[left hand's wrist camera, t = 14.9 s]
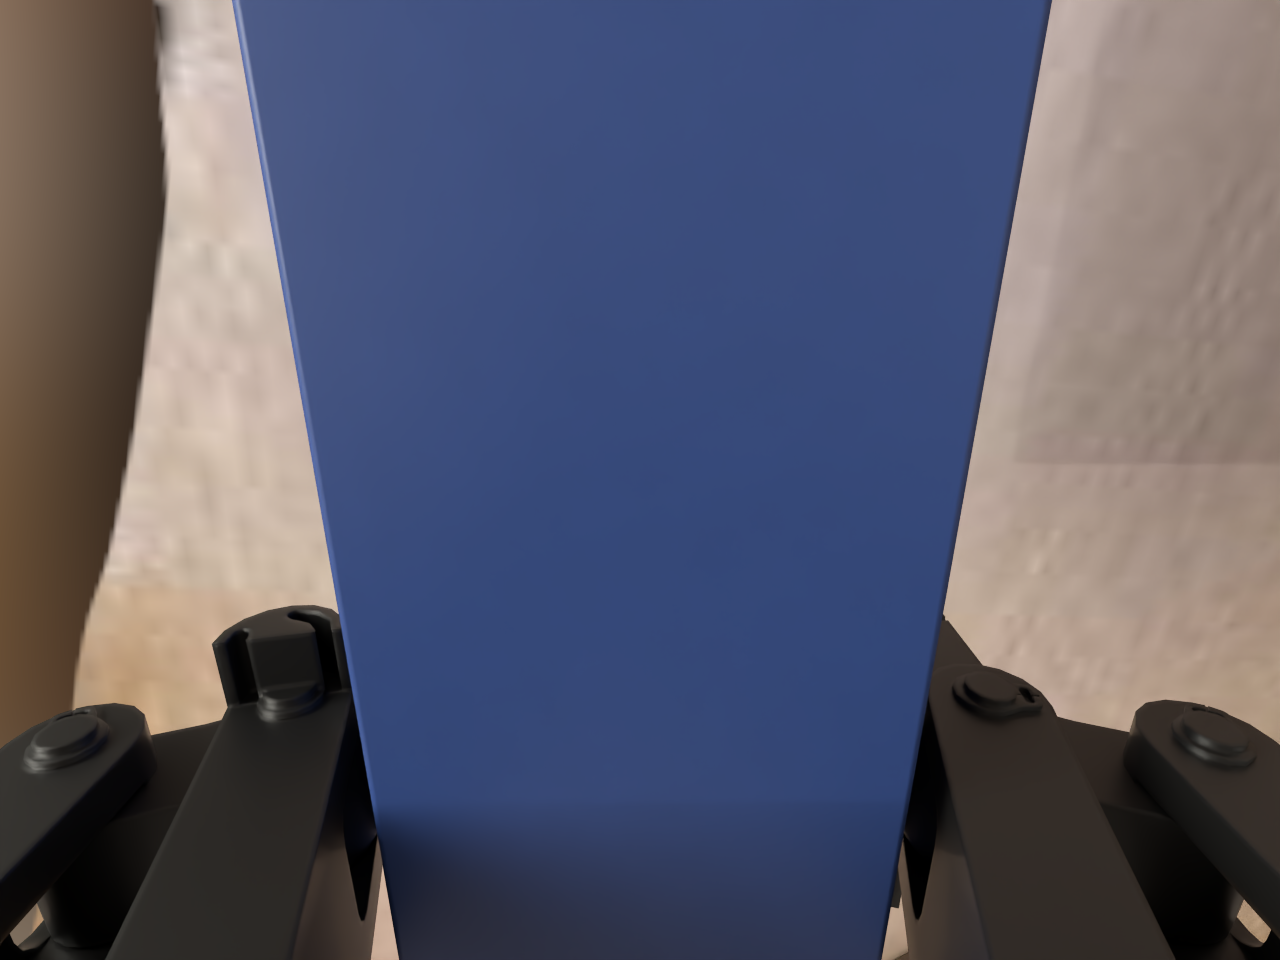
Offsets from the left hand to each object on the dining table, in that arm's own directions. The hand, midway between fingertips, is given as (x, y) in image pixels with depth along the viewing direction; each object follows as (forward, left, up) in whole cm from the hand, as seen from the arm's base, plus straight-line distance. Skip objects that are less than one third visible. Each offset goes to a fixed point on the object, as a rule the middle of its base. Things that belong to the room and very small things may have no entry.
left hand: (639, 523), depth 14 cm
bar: (+9, +5, -1) cm, 10 cm away
